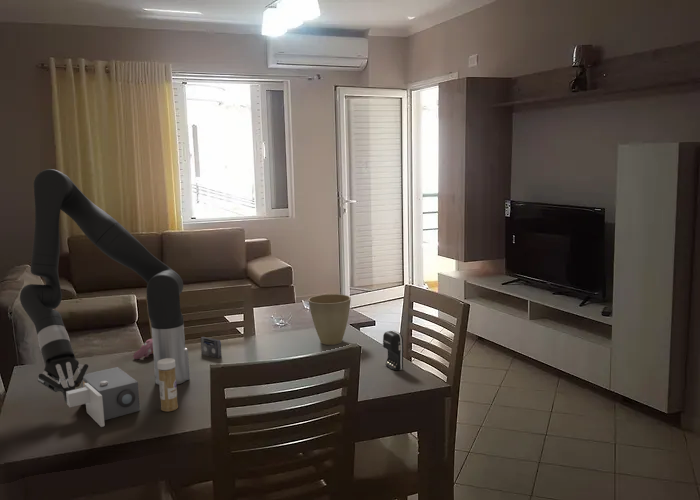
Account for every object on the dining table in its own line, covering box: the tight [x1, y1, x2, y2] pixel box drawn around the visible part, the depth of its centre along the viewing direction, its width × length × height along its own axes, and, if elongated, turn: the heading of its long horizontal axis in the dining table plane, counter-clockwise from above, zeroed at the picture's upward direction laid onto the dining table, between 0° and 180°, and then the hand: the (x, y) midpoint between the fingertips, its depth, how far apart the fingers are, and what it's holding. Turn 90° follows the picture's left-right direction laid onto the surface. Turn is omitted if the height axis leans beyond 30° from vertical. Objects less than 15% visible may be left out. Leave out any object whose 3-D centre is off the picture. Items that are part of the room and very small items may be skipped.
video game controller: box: [132, 338, 154, 360], centre depth 215 cm, size 10×5×7 cm, turn 169°
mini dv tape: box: [200, 336, 223, 359], centre depth 213 cm, size 8×2×6 cm, turn 54°
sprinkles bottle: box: [157, 358, 179, 412], centre depth 168 cm, size 5×5×13 cm
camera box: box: [80, 366, 141, 421], centre depth 170 cm, size 10×17×9 cm, turn 38°
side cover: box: [66, 383, 106, 428], centre depth 161 cm, size 6×12×8 cm, turn 38°
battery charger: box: [382, 330, 404, 371], centre depth 196 cm, size 7×4×11 cm, turn 28°
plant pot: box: [308, 293, 352, 346], centre depth 224 cm, size 15×15×16 cm
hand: (72, 402), depth 164 cm, fingers closed
